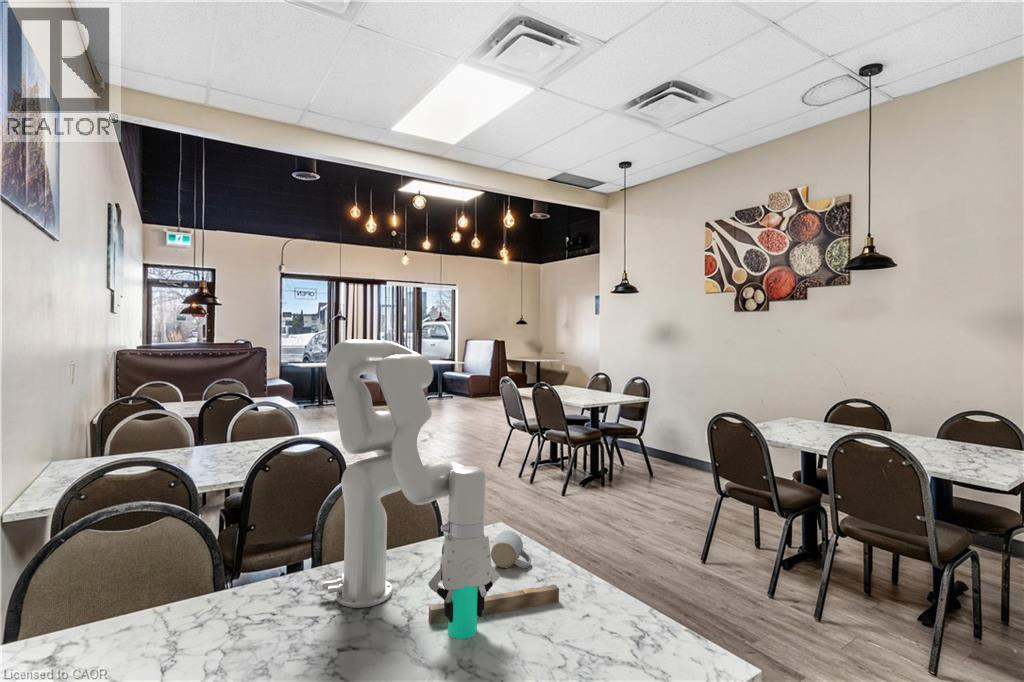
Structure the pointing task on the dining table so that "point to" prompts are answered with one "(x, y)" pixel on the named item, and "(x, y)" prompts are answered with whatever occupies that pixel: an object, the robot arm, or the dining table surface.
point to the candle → (464, 613)
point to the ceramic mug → (509, 550)
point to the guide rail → (505, 602)
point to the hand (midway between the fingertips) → (464, 615)
